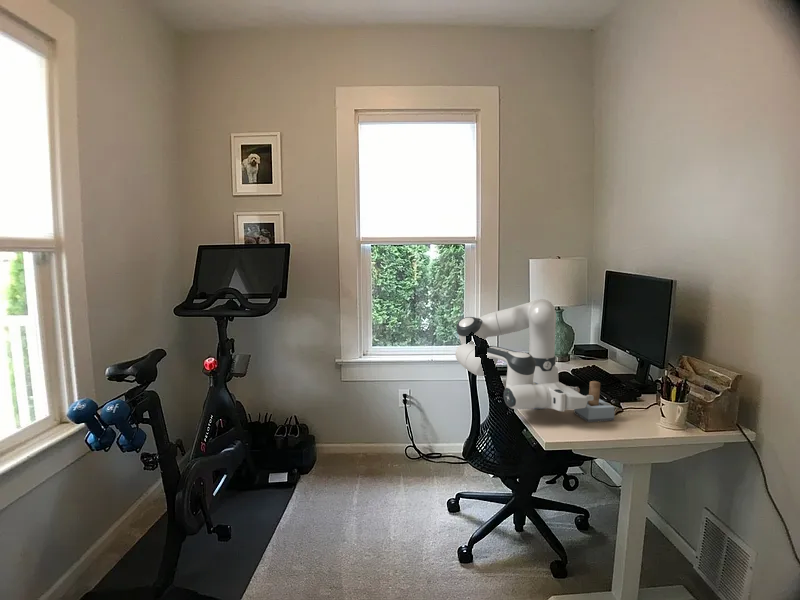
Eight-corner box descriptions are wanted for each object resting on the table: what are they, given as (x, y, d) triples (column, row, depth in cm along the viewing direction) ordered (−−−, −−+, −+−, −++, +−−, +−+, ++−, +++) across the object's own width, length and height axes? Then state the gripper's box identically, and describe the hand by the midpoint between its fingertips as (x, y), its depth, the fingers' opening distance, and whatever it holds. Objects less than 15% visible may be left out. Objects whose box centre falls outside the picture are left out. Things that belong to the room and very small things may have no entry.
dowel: (585, 412, 178) (587, 381, 177) (594, 412, 179) (597, 380, 177) (590, 416, 175) (593, 384, 173) (599, 415, 175) (602, 383, 174)
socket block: (574, 412, 181) (574, 400, 181) (598, 411, 183) (599, 398, 182) (588, 422, 172) (588, 408, 171) (614, 420, 173) (614, 406, 173)
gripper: (537, 395, 184) (570, 393, 186) (563, 413, 164) (600, 411, 166) (537, 379, 183) (571, 377, 185) (563, 395, 163) (601, 393, 165)
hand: (585, 393), depth 175 cm, fingers open, 8 cm apart
